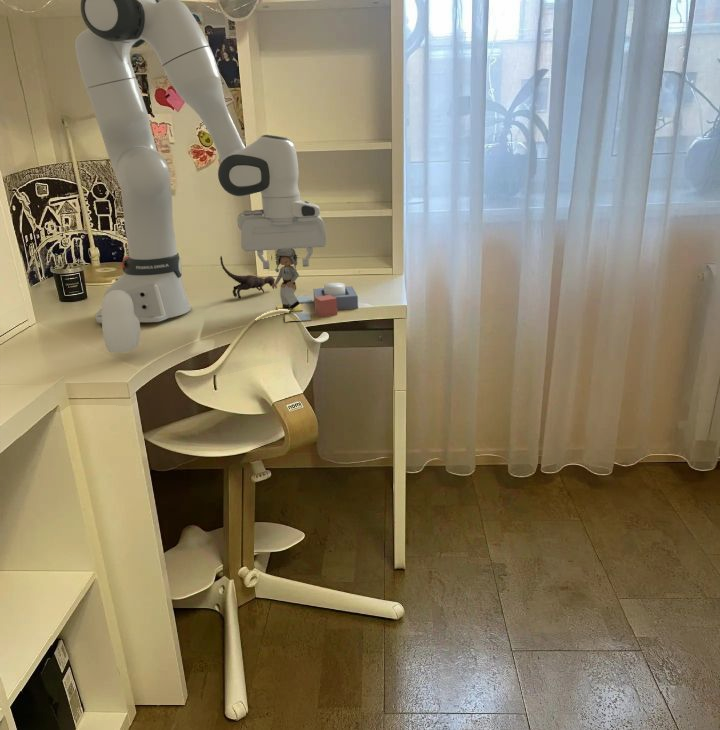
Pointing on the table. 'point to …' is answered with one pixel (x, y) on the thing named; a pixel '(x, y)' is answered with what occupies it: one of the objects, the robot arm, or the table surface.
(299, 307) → the mustard space
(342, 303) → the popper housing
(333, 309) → the die
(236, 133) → the robot arm
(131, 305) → the figurine
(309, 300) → the track spaces
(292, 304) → the toy
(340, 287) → the popper dome
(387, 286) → the table surface
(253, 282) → the dinosaur model
